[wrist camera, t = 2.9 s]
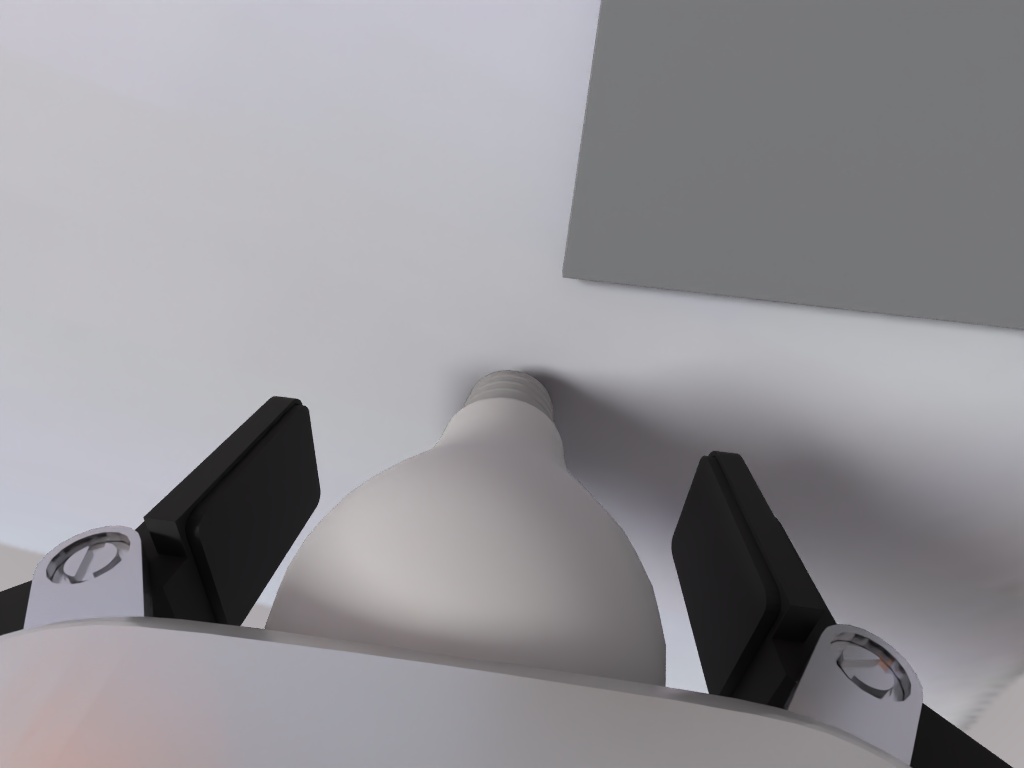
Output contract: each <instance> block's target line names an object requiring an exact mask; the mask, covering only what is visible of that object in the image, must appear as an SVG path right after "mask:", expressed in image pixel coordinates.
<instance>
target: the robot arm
mask: <svg viewBox="0 0 1024 768" xmlns="http://www.w3.org/2000/svg"><path fill="white" fill-rule="evenodd" d="M319 499H320V484H319V478H318V471H317V464H316V457H315V450H314V443H313V436H312V429H311V422H310V415H309V410H308V408H307V407H306V406H303V405H302V402H301V401H300V400H299V399H294V398H286V397H278V396H274V397H272V398H270V399H269V400H268V401H267V402H266V403H265V404H264V405H263V406H261V407H260V408H259V409H258V410H257V411H256V412H255V413H254V414H253V415H252V416H251V417H250V418H249V419H248V420H247V421H246V422H244V423H243V424H242V425H241V426H240V427H239V428H238V429H237V430H236V431H235V432H234V433H233V434H232V435H231V436H230V437H228V438H227V439H226V440H225V441H224V442H223V443H222V444H221V445H220V446H219V447H218V448H217V449H216V450H215V451H214V452H213V453H211V454H210V455H209V456H208V457H207V458H206V459H205V460H204V461H203V462H202V463H201V464H200V465H199V466H198V467H197V468H196V469H194V470H193V471H192V472H191V473H190V474H189V475H188V476H187V477H186V478H185V479H184V480H183V481H182V482H181V483H180V484H178V485H177V486H176V487H175V488H174V489H173V490H172V491H171V492H170V493H169V494H168V495H167V496H166V497H165V498H164V499H163V500H161V501H160V502H159V503H158V504H157V505H156V506H155V507H154V508H153V509H152V510H151V511H150V512H149V513H148V514H147V515H146V516H144V517H143V518H144V520H145V521H144V522H143V523H142V524H141V525H140V526H139V527H138V528H137V529H136V530H133V529H132V528H129V527H124V526H105V527H101V528H96V529H91V530H89V531H86V532H83V533H81V534H78V535H75V536H74V537H72V538H70V539H68V540H66V541H64V542H62V543H61V544H59V545H58V546H57V547H55V548H54V549H53V550H51V551H50V552H49V553H47V554H46V556H45V557H44V558H43V559H42V560H41V561H40V562H39V564H38V565H37V567H36V570H35V572H34V574H33V579H32V581H29V582H26V583H23V584H21V585H18V586H15V587H12V588H10V589H7V590H4V591H2V592H0V768H1012V767H1011V766H1010V765H1008V764H1007V763H1006V762H1004V761H1003V760H1002V759H1000V758H999V757H997V756H996V755H995V754H993V753H992V752H990V751H989V750H988V749H986V748H985V747H983V746H982V745H980V744H979V743H978V742H976V741H975V740H974V739H972V738H971V737H969V736H968V735H967V734H965V733H964V732H962V731H961V730H960V729H958V728H957V727H955V726H954V725H953V724H951V723H950V722H948V721H947V720H946V719H944V718H943V717H942V716H940V715H939V714H937V713H936V712H935V711H933V710H932V709H930V708H929V707H928V706H926V705H925V704H923V703H922V702H923V692H922V686H921V684H920V682H919V679H918V677H917V675H916V673H915V672H914V670H913V669H912V668H911V666H910V665H909V664H908V662H907V661H906V660H905V659H904V658H903V657H902V656H901V655H900V654H899V653H898V652H897V651H896V650H895V649H894V648H893V647H892V646H890V645H889V644H887V643H886V642H885V641H883V640H882V639H881V638H879V637H877V636H876V635H874V634H872V633H870V632H868V631H866V630H864V629H861V628H858V627H855V626H851V625H843V624H836V622H835V620H834V619H833V617H832V615H831V613H830V611H829V610H828V608H827V606H826V604H825V602H824V601H823V599H822V597H821V595H820V593H819V592H818V590H817V588H816V586H815V584H814V583H813V581H812V579H811V577H810V575H809V574H808V572H807V570H806V568H805V566H804V565H803V563H802V561H801V559H800V557H799V556H798V554H797V552H796V550H795V548H794V547H793V545H792V543H791V541H790V539H789V538H788V536H787V534H786V532H785V530H784V529H783V527H782V525H781V523H780V522H779V521H778V519H777V518H775V517H774V515H773V513H772V511H771V509H770V508H769V506H768V504H767V502H766V500H765V498H764V497H763V495H762V493H761V491H760V489H759V488H758V486H757V484H756V482H755V480H754V478H753V477H752V475H751V473H750V471H749V469H748V467H747V466H746V464H745V462H744V460H743V458H742V457H741V456H740V455H739V454H735V453H727V452H719V451H712V452H711V453H710V454H709V456H703V457H702V458H701V460H700V462H699V465H698V468H697V471H696V473H695V476H694V479H693V482H692V485H691V487H690V490H689V493H688V496H687V499H686V501H685V504H684V507H683V510H682V513H681V515H680V518H679V521H678V524H677V527H676V529H675V532H674V535H673V538H672V555H673V559H674V563H675V566H676V570H677V574H678V578H679V582H680V585H681V589H682V593H683V597H684V601H685V604H686V608H687V612H688V616H689V620H690V624H691V627H692V631H693V635H694V639H695V643H696V646H697V650H698V654H699V658H700V662H701V665H702V669H703V673H704V677H705V681H706V685H707V688H708V692H709V694H706V693H700V692H694V691H688V690H682V689H676V688H670V687H664V686H658V685H652V684H645V683H638V682H632V681H625V680H618V679H611V678H605V677H598V676H591V675H584V674H578V673H571V672H564V671H557V670H551V669H544V668H537V667H530V666H524V665H517V664H510V663H502V662H493V661H484V660H475V659H468V658H461V657H453V656H446V655H439V654H432V653H426V652H420V651H415V650H409V649H403V648H397V647H390V646H383V645H376V644H369V643H361V642H354V641H347V640H339V639H332V638H325V637H318V636H310V635H303V634H296V633H288V632H281V631H274V630H266V629H259V628H251V627H242V626H241V624H242V623H243V621H244V620H245V618H246V616H247V615H248V613H249V612H250V610H251V609H252V607H253V606H254V604H255V603H256V601H257V599H258V598H259V596H260V595H261V593H262V592H263V590H264V588H265V587H266V585H267V584H268V582H269V581H270V579H271V577H272V576H273V574H274V573H275V571H276V570H277V568H278V566H279V565H280V563H281V562H282V560H283V559H284V557H285V556H286V554H287V552H288V551H289V549H290V548H291V546H292V545H293V543H294V541H295V540H296V538H297V537H298V535H299V534H300V532H301V530H302V529H303V527H304V526H305V524H306V523H307V521H308V520H309V518H310V516H311V515H312V513H313V512H314V510H315V509H316V507H317V505H318V503H319Z"/></svg>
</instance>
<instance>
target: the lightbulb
mask: <svg viewBox="0 0 1024 768" xmlns="http://www.w3.org/2000/svg"><path fill="white" fill-rule="evenodd" d="M265 629H266V630H274V631H281V632H288V633H296V634H303V635H310V636H318V637H325V638H332V639H339V640H347V641H354V642H361V643H369V644H376V645H383V646H390V647H397V648H403V649H409V650H415V651H420V652H426V653H432V654H439V655H446V656H453V657H461V658H468V659H475V660H484V661H493V662H502V663H510V664H517V665H524V666H530V667H537V668H544V669H551V670H557V671H564V672H571V673H578V674H584V675H591V676H598V677H605V678H611V679H618V680H625V681H632V682H638V683H645V684H652V685H658V686H664V687H665V684H666V644H665V639H664V634H663V629H662V625H661V620H660V615H659V610H658V606H657V602H656V598H655V594H654V590H653V586H652V584H651V582H650V580H649V578H648V576H647V574H646V572H645V570H644V568H643V566H642V563H641V561H640V559H639V557H638V555H637V553H636V551H635V550H634V548H633V546H632V544H631V543H630V541H629V539H628V537H627V536H626V534H625V532H624V530H623V529H622V528H621V527H620V526H619V525H618V524H617V522H616V521H615V520H614V519H613V518H612V517H611V516H610V515H609V514H608V512H607V511H606V510H605V509H604V508H603V507H602V506H601V505H600V504H599V502H598V501H597V500H596V499H595V498H594V497H593V496H592V495H591V494H590V493H589V492H588V491H587V489H586V488H585V487H584V486H583V485H582V484H581V483H580V482H579V481H577V480H576V479H575V478H574V477H573V476H571V475H570V473H569V472H568V469H567V466H566V463H565V458H564V449H563V443H562V440H561V437H560V434H559V432H558V431H557V429H556V427H555V425H554V417H553V408H552V402H551V399H550V396H549V394H548V392H547V390H546V389H545V387H544V386H543V385H542V384H541V383H540V382H539V381H537V380H536V379H535V378H533V377H531V376H530V375H528V374H525V373H522V372H519V371H511V370H506V371H498V372H494V373H491V374H489V375H487V376H485V377H484V378H482V379H481V380H479V381H478V383H477V384H476V385H475V386H474V387H473V389H472V391H471V393H470V395H469V397H468V398H467V400H466V402H465V404H464V407H463V409H461V410H460V411H459V412H458V413H456V415H455V416H454V417H453V418H452V419H451V420H450V421H449V423H448V425H447V427H446V428H445V430H444V432H443V434H442V436H441V438H440V439H439V441H438V442H437V443H436V445H435V446H434V447H433V448H432V449H430V450H428V451H426V452H423V453H421V454H419V455H416V456H414V457H411V458H409V459H406V460H404V461H402V462H400V463H398V464H396V465H395V466H393V467H391V468H389V469H387V470H385V471H383V472H381V473H379V474H377V475H375V476H374V477H372V478H370V479H369V480H367V481H366V482H364V483H363V484H362V485H360V486H359V487H357V488H356V489H354V490H353V491H351V492H350V493H349V494H348V495H347V496H345V497H344V498H343V499H342V500H341V501H340V502H339V503H338V504H337V505H336V506H335V507H334V508H333V509H332V510H331V511H330V512H329V513H328V514H327V515H326V516H325V517H324V518H323V519H322V520H321V521H320V522H319V524H318V525H317V526H316V527H315V528H314V529H313V531H312V532H311V533H310V534H309V535H308V536H307V538H306V539H305V540H304V542H303V544H302V545H301V547H300V548H299V550H298V552H297V553H296V555H295V557H294V558H293V560H292V561H291V563H290V565H289V566H288V568H287V570H286V573H285V575H284V577H283V580H282V582H281V584H280V587H279V589H278V592H277V595H276V597H275V600H274V603H273V606H272V608H271V611H270V614H269V617H268V620H267V622H266V625H265Z"/></svg>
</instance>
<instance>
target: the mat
mask: <svg viewBox="0 0 1024 768" xmlns="http://www.w3.org/2000/svg"><path fill="white" fill-rule="evenodd" d="M563 277H564V278H573V279H582V280H591V281H600V282H609V283H618V284H626V285H635V286H644V287H653V288H662V289H671V290H679V291H688V292H697V293H706V294H715V295H724V296H732V297H741V298H750V299H759V300H768V301H777V302H785V303H794V304H803V305H812V306H821V307H830V308H838V309H847V310H856V311H865V312H874V313H883V314H891V315H900V316H909V317H918V318H927V319H936V320H944V321H953V322H962V323H971V324H980V325H989V326H997V327H1006V328H1015V329H1024V0H601V5H600V12H599V19H598V26H597V33H596V40H595V47H594V54H593V61H592V68H591V75H590V82H589V89H588V96H587V103H586V110H585V117H584V124H583V131H582V138H581V145H580V152H579V160H578V167H577V174H576V181H575V188H574V195H573V202H572V209H571V216H570V223H569V230H568V237H567V244H566V251H565V258H564V265H563Z"/></svg>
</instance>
